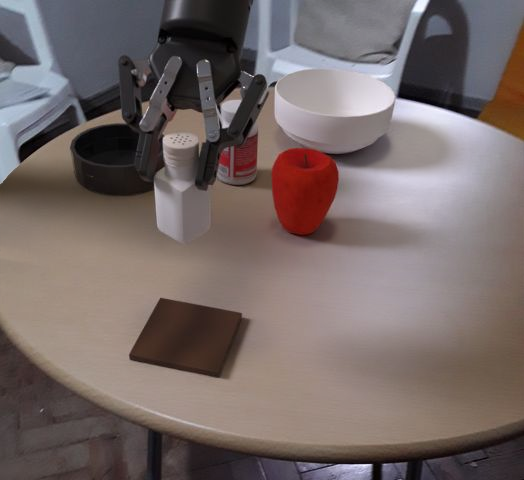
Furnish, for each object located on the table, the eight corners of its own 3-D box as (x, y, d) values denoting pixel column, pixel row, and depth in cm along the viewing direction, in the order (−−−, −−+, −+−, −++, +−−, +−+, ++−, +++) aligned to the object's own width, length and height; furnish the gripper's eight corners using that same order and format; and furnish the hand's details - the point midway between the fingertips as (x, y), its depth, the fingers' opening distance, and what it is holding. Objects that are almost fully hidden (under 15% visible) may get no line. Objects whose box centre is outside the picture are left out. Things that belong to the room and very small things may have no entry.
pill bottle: (260, 170, 99) (264, 100, 91) (250, 189, 95) (253, 117, 87) (222, 164, 100) (223, 94, 92) (211, 182, 96) (210, 111, 88)
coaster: (129, 359, 68) (128, 354, 67) (160, 302, 75) (160, 297, 74) (218, 377, 66) (218, 372, 66) (242, 317, 73) (242, 312, 73)
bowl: (252, 125, 110) (254, 76, 105) (346, 109, 117) (353, 62, 112) (308, 177, 98) (313, 125, 92) (409, 155, 105) (420, 105, 99)
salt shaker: (183, 248, 60) (180, 155, 53) (154, 230, 61) (148, 138, 55) (213, 231, 62) (213, 140, 55) (184, 215, 64) (181, 124, 57)
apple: (333, 214, 91) (344, 143, 83) (328, 248, 84) (338, 175, 77) (273, 206, 91) (278, 135, 84) (263, 239, 85) (267, 166, 78)
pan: (58, 186, 92) (53, 158, 89) (98, 144, 102) (94, 117, 99) (150, 202, 91) (148, 173, 88) (181, 157, 101) (180, 130, 98)
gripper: (119, -41, 53) (80, 157, 53) (284, -22, 51) (244, 183, 51) (146, 9, 60) (112, 183, 60) (291, 28, 59) (256, 207, 59)
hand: (173, 182), depth 56 cm, fingers closed on salt shaker, 4 cm apart
